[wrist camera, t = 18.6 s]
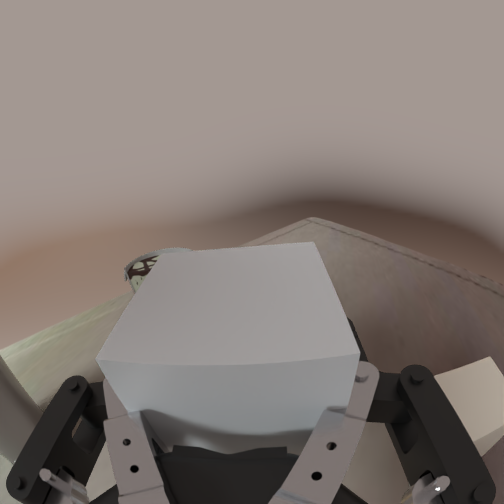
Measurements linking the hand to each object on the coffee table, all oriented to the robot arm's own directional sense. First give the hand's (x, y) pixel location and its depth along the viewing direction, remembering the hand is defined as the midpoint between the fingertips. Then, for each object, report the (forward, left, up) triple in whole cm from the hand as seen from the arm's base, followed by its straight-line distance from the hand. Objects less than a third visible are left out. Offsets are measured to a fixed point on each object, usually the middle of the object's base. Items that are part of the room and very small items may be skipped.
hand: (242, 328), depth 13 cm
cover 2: (+12, +10, -18) cm, 24 cm away
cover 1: (+2, -2, -6) cm, 7 cm away
